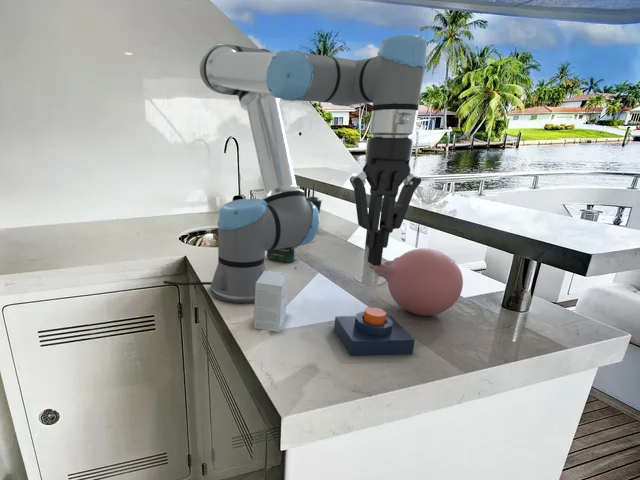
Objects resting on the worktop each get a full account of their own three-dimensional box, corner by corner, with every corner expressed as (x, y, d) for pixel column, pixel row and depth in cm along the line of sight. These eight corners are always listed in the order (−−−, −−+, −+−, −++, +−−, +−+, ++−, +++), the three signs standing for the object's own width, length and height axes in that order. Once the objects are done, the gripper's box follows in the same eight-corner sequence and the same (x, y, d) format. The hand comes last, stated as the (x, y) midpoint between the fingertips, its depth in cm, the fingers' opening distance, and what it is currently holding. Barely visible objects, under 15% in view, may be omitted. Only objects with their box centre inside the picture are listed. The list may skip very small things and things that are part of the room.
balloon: (370, 290, 101) (379, 234, 96) (455, 307, 92) (469, 246, 87) (357, 312, 89) (366, 249, 84) (454, 334, 80) (470, 265, 74)
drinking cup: (320, 234, 157) (325, 185, 150) (302, 233, 157) (306, 184, 150) (317, 229, 164) (321, 183, 158) (299, 229, 164) (303, 182, 158)
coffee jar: (263, 259, 124) (265, 202, 118) (273, 253, 131) (276, 199, 124) (290, 264, 120) (295, 206, 113) (299, 258, 126) (304, 202, 120)
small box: (261, 312, 87) (263, 269, 84) (285, 316, 86) (288, 272, 82) (252, 328, 80) (254, 282, 76) (278, 333, 78) (282, 285, 75)
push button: (350, 356, 71) (353, 332, 69) (333, 330, 80) (336, 308, 78) (412, 354, 72) (416, 331, 70) (388, 328, 81) (391, 307, 80)
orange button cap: (368, 326, 72) (369, 316, 72) (360, 316, 76) (361, 307, 75) (388, 325, 73) (390, 316, 72) (379, 316, 76) (380, 307, 76)
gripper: (364, 136, 63) (348, 270, 71) (438, 137, 64) (415, 269, 72) (347, 136, 70) (335, 258, 78) (414, 137, 71) (396, 257, 79)
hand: (374, 263), depth 75 cm, fingers closed
